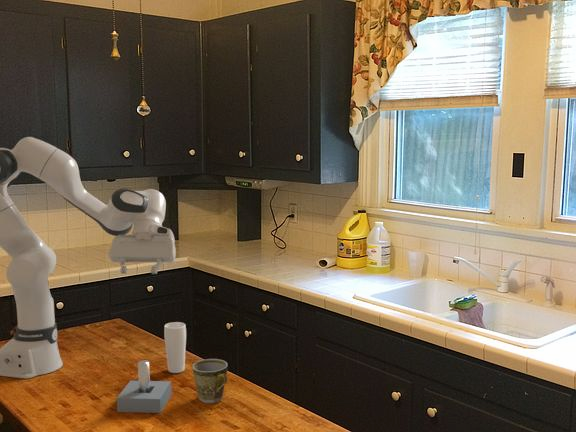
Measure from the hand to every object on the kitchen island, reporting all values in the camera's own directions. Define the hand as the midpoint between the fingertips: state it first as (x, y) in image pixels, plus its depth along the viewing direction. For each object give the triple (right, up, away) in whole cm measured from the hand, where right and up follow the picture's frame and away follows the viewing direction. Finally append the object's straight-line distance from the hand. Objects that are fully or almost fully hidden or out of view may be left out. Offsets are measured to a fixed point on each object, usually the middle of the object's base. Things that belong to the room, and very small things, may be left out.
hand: (138, 272), depth 195 cm
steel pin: (+5, -36, -13) cm, 38 cm away
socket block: (+5, -36, -13) cm, 38 cm away
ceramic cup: (+24, -35, -11) cm, 44 cm away
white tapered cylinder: (+10, -32, +11) cm, 35 cm away
